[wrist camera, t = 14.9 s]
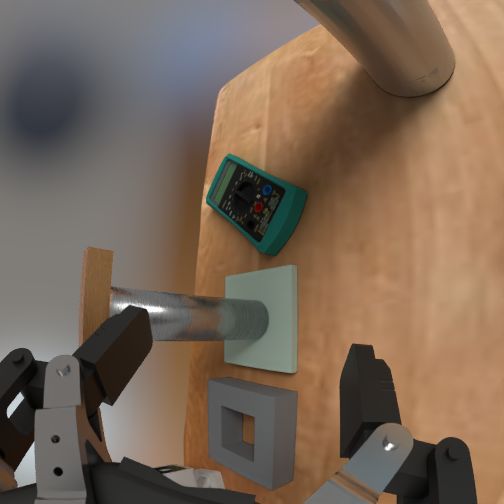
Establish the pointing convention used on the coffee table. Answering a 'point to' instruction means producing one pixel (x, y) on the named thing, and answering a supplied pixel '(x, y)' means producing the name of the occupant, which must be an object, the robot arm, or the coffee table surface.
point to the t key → (165, 308)
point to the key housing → (266, 430)
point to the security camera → (192, 476)
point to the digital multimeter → (256, 203)
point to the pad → (280, 319)
